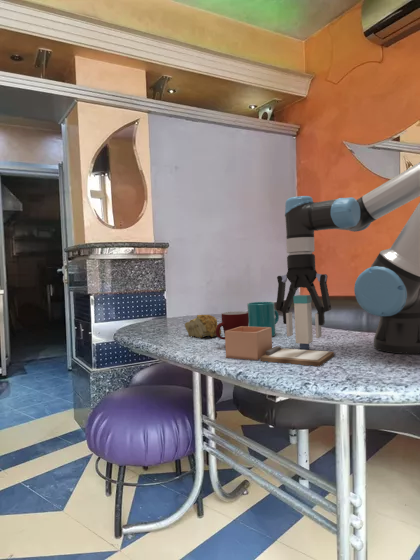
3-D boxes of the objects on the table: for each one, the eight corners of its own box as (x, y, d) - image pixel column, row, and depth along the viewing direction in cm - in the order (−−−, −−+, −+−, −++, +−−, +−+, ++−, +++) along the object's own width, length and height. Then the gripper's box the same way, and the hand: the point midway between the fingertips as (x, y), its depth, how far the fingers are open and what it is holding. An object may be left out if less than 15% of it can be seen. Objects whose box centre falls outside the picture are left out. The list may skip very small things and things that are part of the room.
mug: (226, 351, 116) (225, 316, 116) (210, 347, 123) (209, 314, 122) (255, 345, 122) (253, 312, 121) (238, 342, 128) (237, 310, 128)
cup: (287, 334, 139) (286, 301, 138) (260, 339, 132) (258, 304, 132) (270, 331, 146) (268, 300, 146) (243, 336, 140) (241, 303, 140)
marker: (313, 348, 114) (311, 294, 114) (309, 351, 111) (306, 296, 110) (300, 347, 116) (298, 295, 116) (295, 350, 113) (293, 296, 112)
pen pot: (272, 353, 111) (271, 327, 110) (257, 360, 103) (256, 332, 103) (242, 350, 116) (241, 326, 115) (225, 357, 108) (224, 331, 108)
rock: (194, 350, 144) (180, 325, 145) (210, 341, 150) (197, 317, 151) (213, 339, 135) (198, 312, 137) (229, 330, 142) (215, 305, 143)
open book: (334, 355, 104) (333, 347, 104) (319, 366, 94) (319, 357, 94) (279, 351, 112) (278, 344, 112) (260, 361, 102) (259, 353, 102)
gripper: (342, 251, 110) (345, 336, 111) (271, 255, 121) (275, 332, 122) (334, 251, 104) (337, 340, 105) (261, 255, 115) (264, 336, 116)
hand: (304, 336), depth 113 cm, fingers open, 8 cm apart
